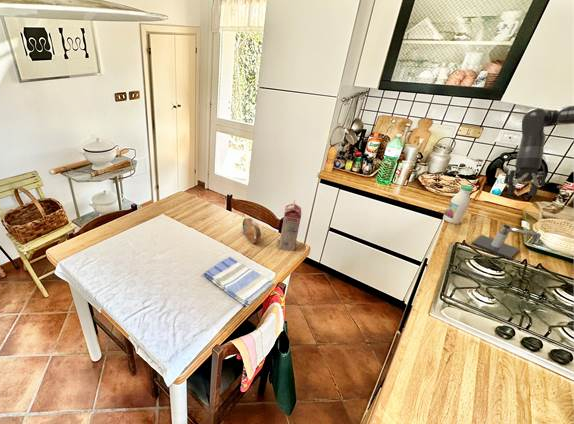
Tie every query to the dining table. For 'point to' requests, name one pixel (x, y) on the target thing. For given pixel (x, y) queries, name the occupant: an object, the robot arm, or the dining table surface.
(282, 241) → the juice carton
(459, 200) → the milk bottle
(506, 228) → the spout
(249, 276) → the dish towel
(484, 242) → the faucet base
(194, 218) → the dining table surface
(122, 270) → the dining table surface
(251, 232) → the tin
